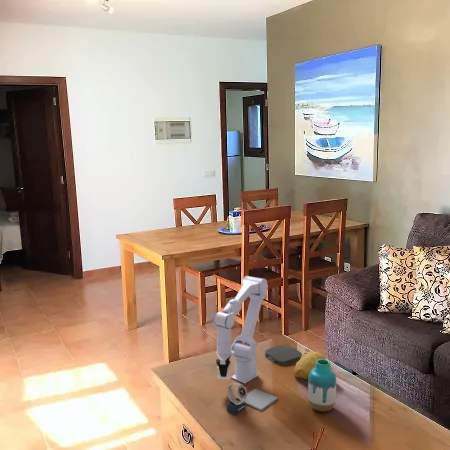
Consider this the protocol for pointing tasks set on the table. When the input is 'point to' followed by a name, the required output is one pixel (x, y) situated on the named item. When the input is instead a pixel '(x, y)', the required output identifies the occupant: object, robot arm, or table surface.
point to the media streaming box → (283, 355)
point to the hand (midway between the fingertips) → (224, 373)
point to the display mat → (259, 399)
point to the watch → (236, 404)
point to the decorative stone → (307, 364)
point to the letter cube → (226, 375)
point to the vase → (322, 386)
